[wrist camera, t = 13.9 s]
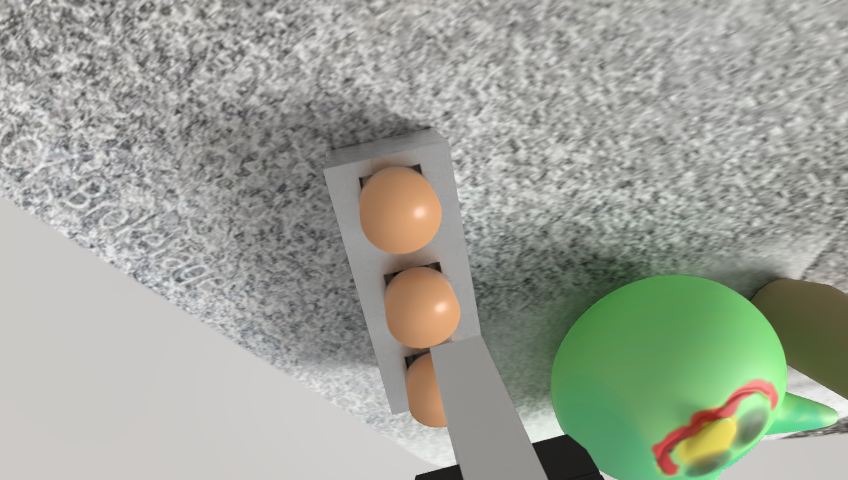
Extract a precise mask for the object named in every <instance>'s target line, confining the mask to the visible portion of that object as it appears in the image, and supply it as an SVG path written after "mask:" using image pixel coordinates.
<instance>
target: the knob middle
mask: <svg viewBox="0 0 848 480" xmlns="http://www.w3.org/2000/svg"><path fill="white" fill-rule="evenodd" d="M393 276H394V278H393V279H392V280H391V282H390V283H389V285H388V286H387V288H386V291H385V294H384V306H385V314H386V321H387V326H388V329H389V331H390V333H391V334H392V336H393V337H394V338H395V339H396V340H397V341H398V342H400V343H402V344H403V345H406V346H409V347H412V348H428V347H432V346H435V345H438V344H440V343H442V342H443V341H445V340H446V339H447V338H449V337H450V336H451V335H452V333H453V332H454V331H455V329H456V328H457V326H458V323H459V320H460V306H459V303H458V301H457V298H456V296H455V294H454V291H453V289H452V287H451V284H450V282H449V281H448V279H447V278H446V277H445V276H444V275H443V274H442V273H440V272H439V271H437V270H434V269H431V268H429V266H428V264H427V265H423V266H419V267H415V268H410V269H406V270H402V271H398V272H394V273H393Z"/></svg>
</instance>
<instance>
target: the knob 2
mask: <svg viewBox="0 0 848 480" xmlns="http://www.w3.org/2000/svg"><path fill="white" fill-rule="evenodd" d="M413 358H414V362H413V363H412V365H411V366H410V367H409V369H408V371H407V373H406V376H405V386H406V392H407V398H408V404H409V409H410V412H411V414H412V416H413V417H414V418H415V419H416V420H417V421H418V422H420V423H421V424H423V425H426V426H430V427H446V426H447V423H446V419H445V414H444V410H443V405H442V401H441V397H440V392H439V388H438V383H437V379H436V374H435V370H434V365H433V361H432V357H431V352H430V351H426V352H423V353H419V354H415V355H413Z"/></svg>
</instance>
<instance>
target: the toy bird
mask: <svg viewBox="0 0 848 480" xmlns="http://www.w3.org/2000/svg"><path fill="white" fill-rule="evenodd" d="M786 385H787V366H786V359H785V355H784V351H783V348H782V345H781V343H780V340H779V338H778V336H777V334H776V332H775V331H774V329H773V327H772V326H771V324H770V323H769V322H768V320H767V319H766V318H765V317H764V315H763V314H762V313H761V312H760V311H759V310H758V309H757V308H756V307H755V306H754V305H753V304H752V303H751V302H749V301H748V300H747V299H746V298H744V297H743V296H742V295H740V294H739V293H737V292H735V291H734V290H732V289H730V288H728V287H726V286H724V285H722V284H720V283H717V282H715V281H712V280H708V279H705V278H701V277H696V276H690V275H660V276H654V277H649V278H645V279H641V280H638V281H635V282H632V283H630V284H627V285H625V286H623V287H620V288H618V289H616V290H615V291H613V292H611V293H609V294H607V295H606V296H604V297H603V298H601V299H600V300H598V301H597V302H596V303H594V304H593V305H592V306H591V307H590V308H588V309H587V310H586V311H585V312H584V313H583V314H582V315H581V316H580V317H579V318H578V320H577V321H576V322H575V323H574V324H573V326H572V327H571V328H570V330H569V331H568V333H567V334H566V336H565V337H564V339H563V341H562V342H561V344H560V346H559V349H558V351H557V353H556V356H555V359H554V362H553V366H552V372H551V382H550V388H551V399H552V404H553V408H554V412H555V415H556V418H557V420H558V422H559V425H560V427H561V429H562V430H563V432H564V434H565V435H566V434H568V435H569V436H570V437H572V438H573V439H574V440H575V441H577V442H578V443H579V444H580V445H582V446H583V447H584V448H585V449H587V451H588V453H589V454H590V456H591V458H592V459H593V461H594V463H595V465H596V466H597V468H598V469H599V470H600V471H602V472H604V473H606V474H607V475H609V476H611V477H613V478H616V479H618V480H718V478H719V475H720V473H721V471H722V470H724V469H726V468H727V467H729V466H731V465H732V464H734V463H735V462H737V461H738V460H739V459H741V458H742V457H743V456H744V455H745V454H747V453H748V452H749V451H750V450H751V449H752V448H753V447H754V446H755V445H756V444H757V443H758V442H759V441H760V440H761V439H762V437H763V436H764V435H769V434H777V433H787V432H796V431H804V430H811V429H817V428H822V427H826V426H829V425H832V424H834V423H835V422H836V421H837V420H838V418H839V414H838V413H837V411H835V410H834V409H832V408H830V407H828V406H826V405H824V404H821V403H818V402H815V401H812V400H809V399H806V398H803V397H800V396H797V395H794V394H791V393H788V392H785V391H786Z"/></svg>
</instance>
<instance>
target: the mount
mask: <svg viewBox="0 0 848 480" xmlns="http://www.w3.org/2000/svg"><path fill="white" fill-rule="evenodd" d="M389 167H406V168H410V169H413V170H415V171H417V172H418V173H420V174H421V175H423V176H424V177H425V178H426V180H427V181H428V182H429V184H430V185H431V187H432V189H433V190H434V192H435V194H436V195H437V197H438V199H439V202H440V205H441V211H442V216H441V223H440V226H439V229H438V231H437V233H436V234H435V236H434V237H433V238H432V240H431V241H430V242H429V243H428V244H426V245H425V246H424V247H422V248H420V249H419V250H416V251H414V252H411V253H406V254H393V253H388V252H385V251H383V250H381V249H379V248H377V247H376V246H374V245H373V244H372V243H371V242H370V241H369V240H368V239H367V237H366V236H365V234H364V232H363V230H362V227H361V223H360V213H359V198H360V194H361V191H362V188H363V187H364V185H365V183H366V182H367V181H368V180H369V178H370V177H371V176H372V175H373V174H375V173H377V172H379V171H381V170H383V169H386V168H389ZM323 173H324V176H325V180H326V183H327V187H328V190H329V194H330V197H331V201H332V204H333V208H334V211H335V215H336V218H337V222H338V225H339V229H340V232H341V236H342V239H343V243H344V246H345V250H346V253H347V257H348V260H349V264H350V267H351V271H352V275H353V278H354V282H355V285H356V289H357V292H358V296H359V299H360V303H361V306H362V310H363V313H364V317H365V320H366V324H367V327H368V331H369V334H370V338H371V341H372V345H373V348H374V352H375V355H376V359H377V362H378V366H379V369H380V373H381V377H382V380H383V384H384V387H385V391H386V394H387V398H388V401H389V405H390V408H391V412H392V415H393V414H397V413H401V412H405V411H409V410H410V409H409V404H408V398H407V392H406V386H405V376H406V373H407V371H408V369H409V367H410V366H411V365H412V363H413V362H414V358H413V355H415V354H419V353H423V352H426V351H430V347H428V348H412V347H409V346H406V345H403V344H402V343H400V342H398V341H397V340H396V339H395V338H394V337H393V336H392V334H391V333H390V331H389V329H388V326H387V321H386V314H385V306H384V294H385V291H386V288H387V286H388V285H389V283H390V282H391V280H392V279H393V278H394V276H393V273H394V272H398V271H402V270H406V269H410V268H415V267H419V266H423V265H427V264H428V266H429V268H431V269H434V270H437V271H439V272H440V273H442V274H443V275H444V276H445V277H446V278H447V279H448V281H449V282H450V284H451V287H452V289H453V291H454V294H455V296H456V298H457V301H458V303H459V306H460V320H459V323H458V326H457V328H456V329H455V331H454V332H453V333H452V335H451V336H450V337H449V338H447V339H446V340H445V341H443V342H442V343H440V344H438V345H442V344H446V343H451V342H455V341H459V340H463V339H467V338H471V337H475V336H479V335H481V329H480V324H479V318H478V312H477V306H476V300H475V294H474V289H473V283H472V277H471V271H470V265H469V260H468V254H467V248H466V242H465V236H464V230H463V225H462V219H461V213H460V207H459V201H458V195H457V190H456V184H455V178H454V172H453V166H452V160H451V155H450V149H449V143H448V141H447V140H446V139H445V138H444V137H443V136H442V135H441V134H440V133H438V132H437V131H436V130H435V129H434V128H433V127H432V128H427V129H423V130H418V131H414V132H409V133H405V134H400V135H396V136H391V137H387V138H382V139H378V140H373V141H369V142H364V143H360V144H355V145H351V146H346V147H342V148H337V149H333V150H328V151H327V153H326V157H325V161H324V166H323ZM438 345H435V346H438ZM432 347H434V346H432Z"/></svg>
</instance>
